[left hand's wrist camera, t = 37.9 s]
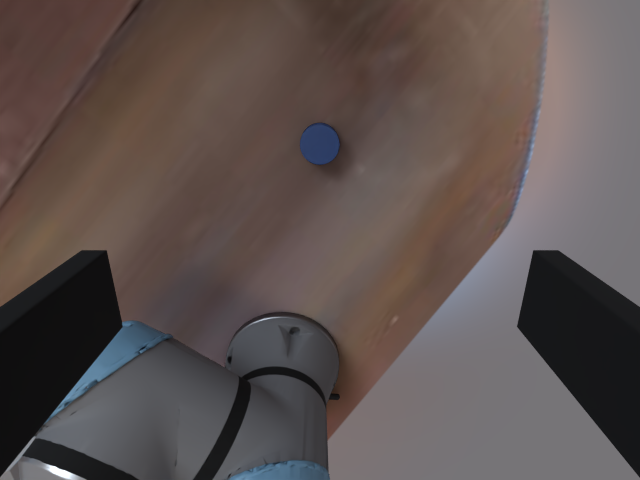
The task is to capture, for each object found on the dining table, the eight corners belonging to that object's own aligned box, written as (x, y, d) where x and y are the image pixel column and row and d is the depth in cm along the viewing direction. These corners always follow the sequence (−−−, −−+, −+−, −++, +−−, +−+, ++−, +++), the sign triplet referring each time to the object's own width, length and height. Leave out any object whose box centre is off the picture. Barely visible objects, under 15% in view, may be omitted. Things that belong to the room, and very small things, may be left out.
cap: (297, 156, 45) (296, 159, 43) (305, 118, 43) (304, 120, 41) (333, 164, 45) (333, 168, 43) (342, 127, 44) (343, 129, 42)
